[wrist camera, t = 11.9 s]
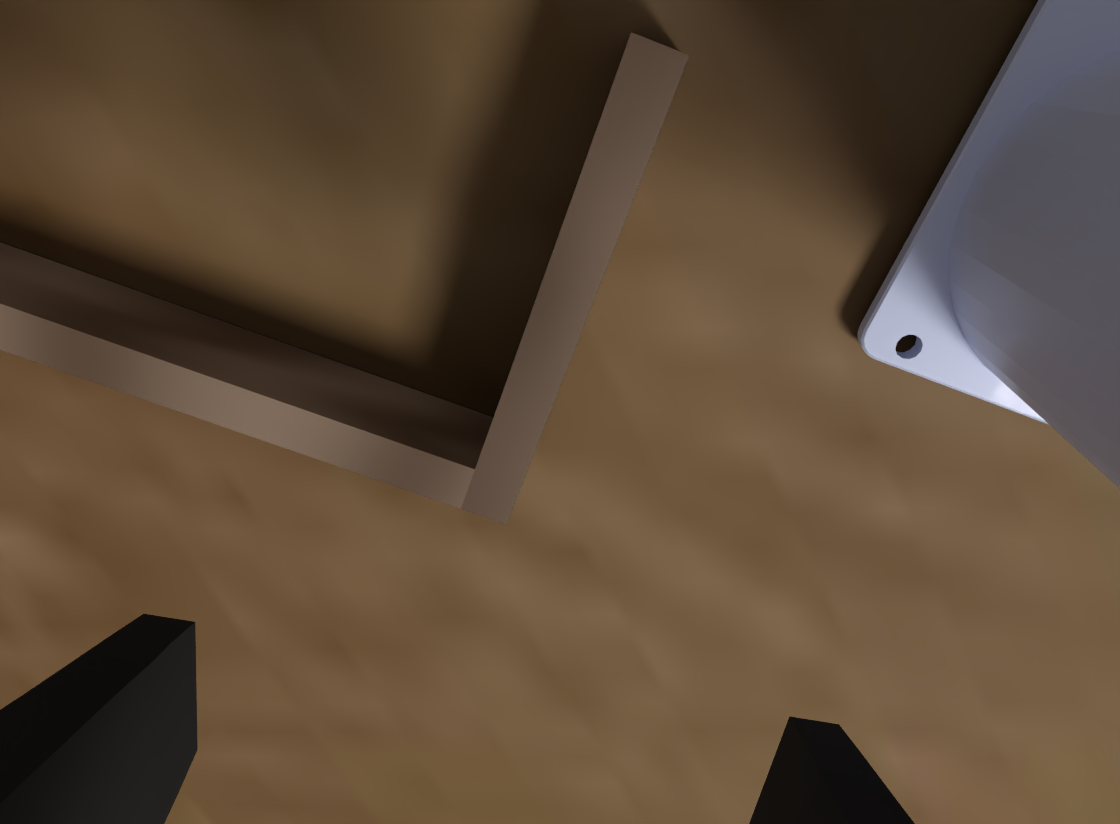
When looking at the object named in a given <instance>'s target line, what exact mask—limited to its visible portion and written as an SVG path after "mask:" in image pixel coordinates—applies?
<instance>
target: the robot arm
mask: <svg viewBox="0 0 1120 824" xmlns="http://www.w3.org/2000/svg"><path fill="white" fill-rule="evenodd" d="M906 335H916V338H917V339H916V342H915V345H914V346H913V347H912V348H911V349H910V350H908V351H905V352H896V349H895V348H896V344H897V342H898V341H899V340H900V339H901V338H902V337H904V336H906ZM857 336H858V343H859V344H860V346H861V347H862V349H863V350H864V352H865V353H866V354H867V355H868V356H870V357H872V358H873V359H875V360H878V361H881V362H883V363H886V364H889V365H891V366H894V367H897V368H899V369H902V370H905V371H907V372H910V373H913V374H915V375H918V376H921V377H923V378H926V379H929V380H931V381H934V382H937V383H939V384H942V385H945V386H947V387H950V388H953V389H955V390H958V391H961V392H963V393H966V394H969V395H971V396H974V397H977V398H979V399H982V400H985V401H987V402H990V403H993V404H995V405H998V406H1001V407H1003V408H1006V409H1009V410H1011V411H1014V412H1017V413H1019V414H1022V415H1025V416H1027V417H1030V418H1033V419H1036V420H1038V421H1041V422H1044V423H1046V424H1049V425H1050V426H1051V427H1052V428H1054V429H1055V430H1056V431H1057V432H1058V433H1059V434H1060V435H1061V436H1062V437H1063V438H1065V439H1066V440H1067V441H1068V442H1069V443H1070V444H1071V445H1072V446H1073V447H1074V448H1076V449H1077V450H1078V451H1079V452H1080V453H1081V454H1082V455H1083V456H1084V457H1085V458H1087V459H1088V460H1089V461H1090V462H1091V463H1092V464H1093V465H1094V466H1095V467H1096V468H1098V469H1099V470H1100V471H1101V472H1102V473H1103V474H1104V475H1105V476H1106V477H1107V478H1109V479H1110V480H1111V481H1112V482H1113V483H1114V484H1115V485H1116V486H1117V487H1118V488H1120V0H1038V2H1037V4H1036V5H1035V7H1034V9H1033V11H1032V13H1031V15H1030V16H1029V18H1028V20H1027V22H1026V24H1025V25H1024V27H1023V29H1022V31H1021V33H1020V35H1019V36H1018V38H1017V40H1016V42H1015V44H1014V45H1013V47H1012V49H1011V51H1010V53H1009V55H1008V56H1007V58H1006V60H1005V62H1004V64H1003V65H1002V67H1001V69H1000V71H999V73H998V75H997V76H996V78H995V80H994V82H993V84H992V85H991V87H990V89H989V91H988V93H987V95H986V96H985V98H984V100H983V102H982V104H981V106H980V107H979V109H978V111H977V113H976V115H975V116H974V118H973V120H972V122H971V124H970V126H969V127H968V129H967V131H966V133H965V135H964V136H963V138H962V140H961V142H960V144H959V146H958V147H957V149H956V151H955V153H954V155H953V156H952V158H951V160H950V162H949V164H948V166H947V167H946V169H945V171H944V173H943V175H942V176H941V178H940V180H939V182H938V184H937V186H936V187H935V189H934V191H933V193H932V195H931V197H930V198H929V200H928V202H927V204H926V206H925V207H924V209H923V211H922V213H921V215H920V217H919V218H918V220H917V222H916V224H915V226H914V227H913V229H912V231H911V233H910V235H909V237H908V238H907V240H906V242H905V244H904V246H903V247H902V249H901V251H900V253H899V255H898V257H897V258H896V260H895V262H894V264H893V266H892V267H891V269H890V271H889V273H888V275H887V277H886V278H885V280H884V282H883V284H882V286H881V288H880V289H879V291H878V293H877V295H876V297H875V298H874V300H873V302H872V304H871V306H870V308H869V309H868V311H867V313H866V315H865V317H864V318H863V320H862V322H861V324H860V326H859V330H858V333H857ZM196 751H197V700H196V643H195V622H192V621H186V620H179V619H173V618H167V617H161V616H154V615H148V614H143V615H141V616H140V617H138V618H137V619H135V620H134V621H132V622H131V623H129V624H128V625H126V626H125V627H123V628H121V629H120V630H118V631H117V632H115V633H114V634H112V635H111V636H109V637H108V638H106V639H105V640H103V641H102V642H100V643H99V644H98V645H96V646H95V647H93V648H92V649H90V650H89V651H87V652H86V653H84V654H83V655H81V656H80V657H78V658H77V659H75V660H74V661H72V662H71V663H70V664H68V665H67V666H65V667H64V668H62V669H61V670H59V671H58V672H56V673H55V674H53V675H52V676H50V677H49V678H47V679H46V680H44V681H43V682H41V683H40V684H39V685H37V686H36V687H34V688H33V689H31V690H30V691H28V692H27V693H25V694H24V695H22V696H21V697H19V698H18V699H16V700H14V701H13V702H11V703H10V704H8V705H7V706H5V707H4V708H2V709H1V710H0V824H164V823H165V821H166V818H167V816H168V814H169V812H170V810H171V808H172V805H173V803H174V801H175V799H176V797H177V795H178V792H179V790H180V788H181V786H182V783H183V781H184V779H185V777H186V774H187V772H188V770H189V767H190V765H191V763H192V761H193V758H194V756H195V754H196ZM749 824H914V822H913V821H912V820H911V818H910V817H909V816H908V814H907V813H906V812H905V810H904V809H903V808H902V807H901V805H900V804H899V803H898V801H897V800H896V799H895V797H894V796H893V795H892V793H891V792H890V791H889V789H888V788H887V787H886V785H885V784H884V783H883V781H882V780H881V779H880V777H879V776H878V775H877V774H876V772H875V771H874V770H873V768H872V767H871V766H870V764H869V763H868V762H867V760H866V759H865V758H864V756H863V755H862V754H861V752H860V751H859V750H858V748H857V747H856V746H855V745H854V743H853V742H852V741H851V739H850V738H849V737H848V736H847V734H846V733H845V732H844V730H843V729H842V728H841V727H840V725H839V724H833V723H827V722H820V721H814V720H808V719H801V718H795V717H789V720H788V722H787V725H786V728H785V730H784V733H783V736H782V738H781V741H780V744H779V746H778V749H777V751H776V754H775V757H774V759H773V762H772V765H771V767H770V770H769V773H768V775H767V778H766V781H765V783H764V786H763V789H762V791H761V794H760V797H759V799H758V802H757V805H756V807H755V810H754V813H753V815H752V818H751V821H750V823H749Z"/></svg>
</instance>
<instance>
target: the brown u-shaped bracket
mask: <svg viewBox="0 0 1120 824" xmlns="http://www.w3.org/2000/svg"><path fill="white" fill-rule="evenodd" d="M689 56H690V55H687V54H685V53H682V52H680V51H677V50H675V49H672V48H670V47H667V46H665V45H662V44H660V43H657V42H655V41H652V40H650V39H647V38H645V37H642V36H640V35H637V34H635V33H632V32H631V34H630V37H629V40H628V42H627V45H626V48H625V51H624V54H623V56H622V59H621V62H620V65H619V68H618V70H617V73H616V76H615V79H614V82H613V84H612V87H611V90H610V93H609V96H608V98H607V101H606V104H605V107H604V110H603V112H602V115H601V118H600V121H599V124H598V126H597V129H596V132H595V135H594V138H593V140H592V143H591V146H590V149H589V152H588V154H587V157H586V160H585V163H584V166H583V168H582V171H581V174H580V177H579V180H578V182H577V185H576V188H575V191H574V194H573V196H572V199H571V202H570V205H569V208H568V210H567V213H566V216H565V219H564V222H563V224H562V227H561V230H560V233H559V236H558V238H557V241H556V244H555V247H554V250H553V252H552V255H551V258H550V261H549V264H548V266H547V269H546V272H545V275H544V278H543V280H542V283H541V286H540V289H539V292H538V294H537V297H536V300H535V303H534V306H533V308H532V311H531V314H530V317H529V320H528V322H527V325H526V328H525V331H524V334H523V336H522V339H521V342H520V345H519V348H518V350H517V353H516V356H515V359H514V362H513V364H512V367H511V370H510V373H509V376H508V378H507V381H506V384H505V387H504V390H503V392H502V395H501V398H500V401H499V404H498V406H497V409H496V412H495V415H494V417H491V416H488V415H485V414H482V413H480V412H477V411H474V410H471V409H468V408H466V407H463V406H460V405H457V404H454V403H451V402H449V401H446V400H443V399H440V398H437V397H435V396H432V395H429V394H426V393H423V392H421V391H418V390H415V389H412V388H409V387H406V386H404V385H401V384H398V383H395V382H392V381H390V380H387V379H384V378H381V377H378V376H375V375H373V374H370V373H367V372H364V371H361V370H359V369H356V368H353V367H350V366H347V365H344V364H342V363H339V362H336V361H333V360H330V359H328V358H325V357H322V356H319V355H316V354H314V353H311V352H308V351H305V350H302V349H299V348H297V347H294V346H291V345H288V344H285V343H283V342H280V341H277V340H274V339H271V338H268V337H266V336H263V335H260V334H257V333H254V332H252V331H249V330H246V329H243V328H240V327H237V326H235V325H232V324H229V323H226V322H223V321H221V320H218V319H215V318H212V317H209V316H206V315H204V314H201V313H198V312H195V311H192V310H190V309H187V308H184V307H181V306H178V305H176V304H173V303H170V302H167V301H164V300H161V299H159V298H156V297H153V296H150V295H147V294H145V293H142V292H139V291H136V290H133V289H130V288H128V287H125V286H122V285H119V284H116V283H114V282H111V281H108V280H105V279H102V278H99V277H97V276H94V275H91V274H88V273H85V272H83V271H80V270H77V269H74V268H71V267H69V266H66V265H63V264H60V263H57V262H54V261H52V260H49V259H46V258H43V257H40V256H38V255H35V254H32V253H29V252H26V251H23V250H21V249H18V248H15V247H12V246H9V245H7V244H4V243H1V242H0V350H2V351H5V352H8V353H11V354H14V355H17V356H20V357H22V358H25V359H28V360H31V361H34V362H37V363H40V364H43V365H46V366H49V367H51V368H54V369H57V370H60V371H63V372H66V373H69V374H72V375H75V376H78V377H80V378H83V379H86V380H89V381H92V382H95V383H98V384H101V385H104V386H106V387H109V388H112V389H115V390H118V391H121V392H124V393H127V394H130V395H133V396H135V397H138V398H141V399H144V400H147V401H150V402H153V403H156V404H159V405H162V406H164V407H167V408H170V409H173V410H176V411H179V412H182V413H185V414H188V415H190V416H193V417H196V418H199V419H202V420H205V421H208V422H211V423H214V424H217V425H219V426H222V427H225V428H228V429H231V430H234V431H237V432H240V433H243V434H246V435H248V436H251V437H254V438H257V439H260V440H263V441H266V442H269V443H272V444H274V445H277V446H280V447H283V448H286V449H289V450H292V451H295V452H298V453H301V454H303V455H306V456H309V457H312V458H315V459H318V460H321V461H324V462H327V463H330V464H332V465H335V466H338V467H341V468H344V469H347V470H350V471H353V472H356V473H358V474H361V475H364V476H367V477H370V478H373V479H376V480H379V481H382V482H385V483H387V484H390V485H393V486H396V487H399V488H402V489H405V490H408V491H411V492H414V493H416V494H419V495H422V496H425V497H428V498H431V499H434V500H437V501H440V502H442V503H445V504H448V505H451V506H454V507H457V508H460V509H463V510H466V511H469V512H471V513H474V514H477V515H480V516H483V517H486V518H489V519H492V520H495V521H498V522H500V523H503V524H507V522H508V519H509V517H510V514H511V511H512V509H513V506H514V504H515V501H516V499H517V496H518V494H519V491H520V488H521V486H522V483H523V481H524V478H525V476H526V473H527V471H528V468H529V465H530V463H531V460H532V458H533V455H534V453H535V450H536V447H537V445H538V442H539V440H540V437H541V435H542V432H543V430H544V427H545V424H546V422H547V419H548V417H549V414H550V412H551V409H552V407H553V404H554V401H555V399H556V396H557V394H558V391H559V389H560V386H561V383H562V381H563V378H564V376H565V373H566V371H567V368H568V366H569V363H570V360H571V358H572V355H573V353H574V350H575V348H576V345H577V342H578V340H579V337H580V335H581V332H582V330H583V327H584V325H585V322H586V319H587V317H588V314H589V312H590V309H591V307H592V304H593V302H594V299H595V296H596V294H597V291H598V289H599V286H600V284H601V281H602V278H603V276H604V273H605V271H606V268H607V266H608V263H609V261H610V258H611V255H612V253H613V250H614V248H615V245H616V243H617V240H618V238H619V235H620V232H621V230H622V227H623V225H624V222H625V220H626V217H627V214H628V212H629V209H630V207H631V204H632V202H633V199H634V197H635V194H636V191H637V189H638V186H639V184H640V181H641V179H642V176H643V174H644V171H645V168H646V166H647V163H648V161H649V158H650V156H651V153H652V150H653V148H654V145H655V143H656V140H657V138H658V135H659V133H660V130H661V127H662V125H663V122H664V120H665V117H666V115H667V112H668V109H669V107H670V104H671V102H672V99H673V97H674V94H675V92H676V89H677V86H678V84H679V81H680V79H681V76H682V74H683V71H684V69H685V66H686V63H687V61H688V58H689Z"/></svg>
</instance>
